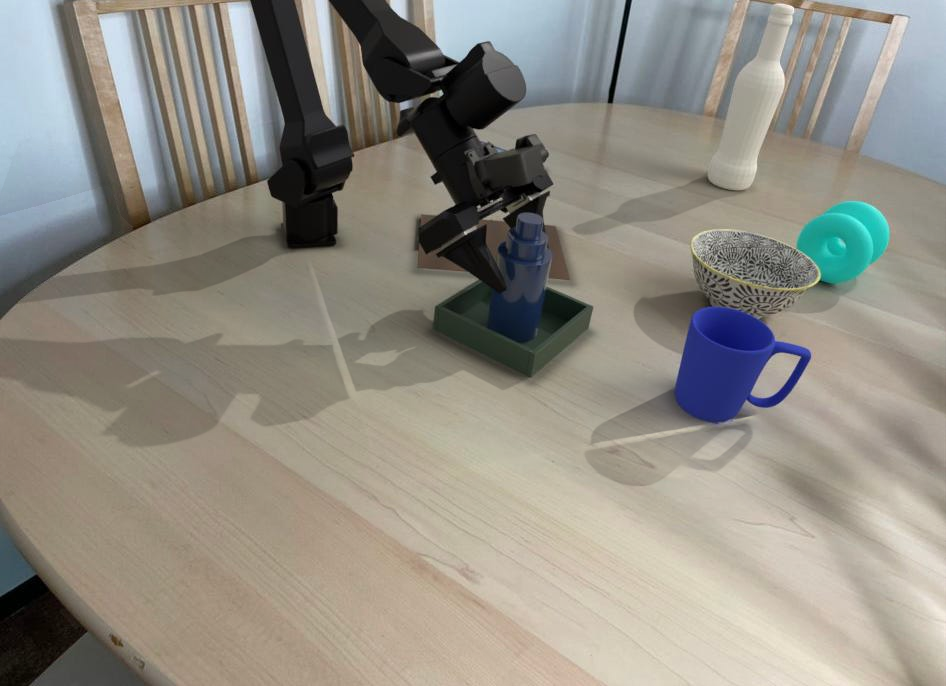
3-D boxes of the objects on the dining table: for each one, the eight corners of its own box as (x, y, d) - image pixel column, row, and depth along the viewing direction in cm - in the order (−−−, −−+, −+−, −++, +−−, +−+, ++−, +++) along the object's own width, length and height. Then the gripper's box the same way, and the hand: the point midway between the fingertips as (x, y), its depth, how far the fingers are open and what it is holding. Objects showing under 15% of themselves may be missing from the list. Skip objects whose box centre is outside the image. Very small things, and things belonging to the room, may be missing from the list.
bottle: (755, 183, 136) (816, 7, 119) (744, 196, 130) (805, 12, 113) (713, 170, 139) (766, -3, 122) (699, 182, 133) (753, 2, 116)
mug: (786, 447, 75) (823, 368, 69) (666, 422, 76) (693, 342, 70) (775, 398, 81) (808, 322, 76) (665, 375, 83) (689, 299, 77)
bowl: (714, 265, 107) (730, 217, 102) (819, 315, 98) (842, 264, 94) (652, 299, 97) (666, 247, 92) (763, 357, 88) (785, 303, 84)
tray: (432, 332, 85) (434, 306, 83) (496, 290, 94) (500, 265, 92) (529, 381, 79) (535, 354, 77) (587, 331, 89) (593, 306, 86)
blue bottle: (497, 345, 83) (515, 232, 75) (479, 316, 88) (494, 207, 80) (546, 339, 85) (568, 229, 77) (526, 311, 90) (544, 204, 82)
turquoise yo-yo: (783, 268, 108) (808, 205, 103) (809, 249, 115) (834, 189, 109) (851, 297, 103) (881, 232, 97) (875, 275, 110) (904, 213, 104)
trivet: (417, 271, 96) (417, 267, 96) (421, 217, 109) (421, 214, 109) (569, 283, 98) (570, 279, 97) (555, 229, 111) (555, 225, 111)
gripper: (449, 132, 68) (533, 279, 70) (552, 95, 81) (620, 220, 83) (382, 186, 76) (458, 318, 78) (485, 145, 89) (549, 258, 91)
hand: (526, 276), depth 82 cm, fingers open, 9 cm apart
